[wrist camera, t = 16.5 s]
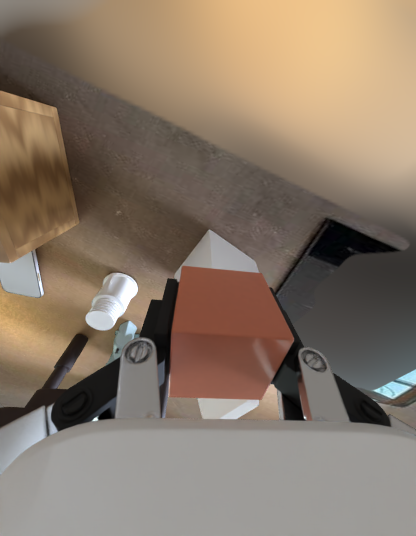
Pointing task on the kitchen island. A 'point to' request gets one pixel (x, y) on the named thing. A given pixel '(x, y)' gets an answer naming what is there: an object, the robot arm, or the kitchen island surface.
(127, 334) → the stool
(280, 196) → the kitchen island surface
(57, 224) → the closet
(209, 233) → the milk
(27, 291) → the smartphone
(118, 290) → the downlight
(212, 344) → the block
